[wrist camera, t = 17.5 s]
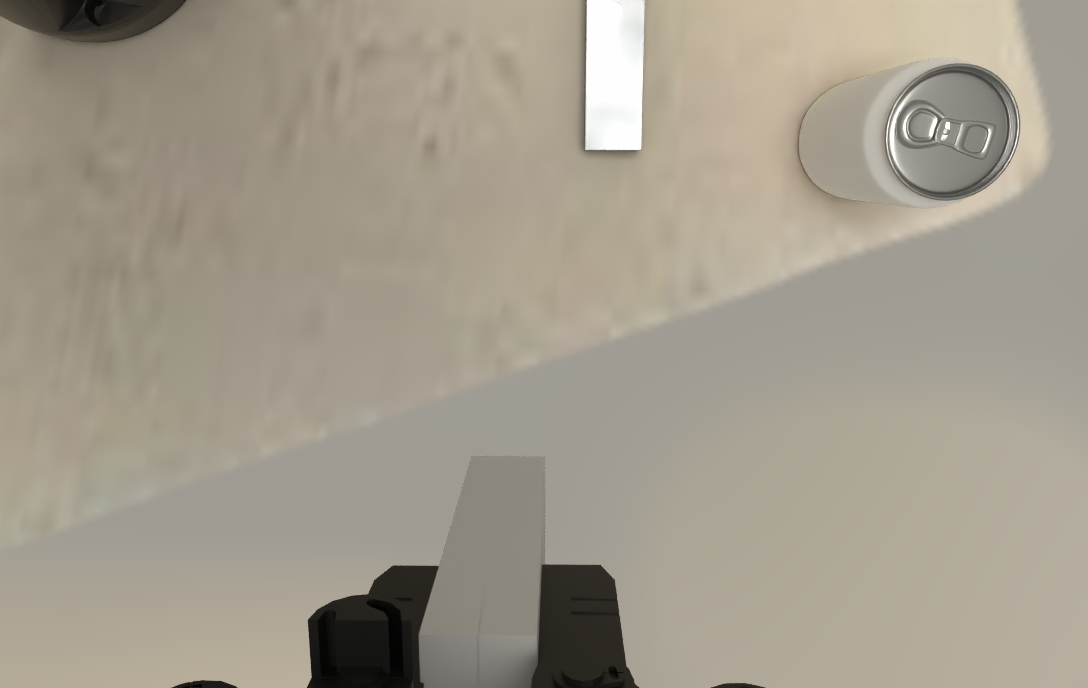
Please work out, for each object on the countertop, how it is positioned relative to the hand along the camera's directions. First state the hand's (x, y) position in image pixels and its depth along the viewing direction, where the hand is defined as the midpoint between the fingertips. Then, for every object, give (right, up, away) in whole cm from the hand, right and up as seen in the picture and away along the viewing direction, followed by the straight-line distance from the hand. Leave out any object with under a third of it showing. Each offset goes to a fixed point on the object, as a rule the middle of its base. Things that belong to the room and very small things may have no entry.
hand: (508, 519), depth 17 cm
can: (+18, +15, +30) cm, 38 cm away
